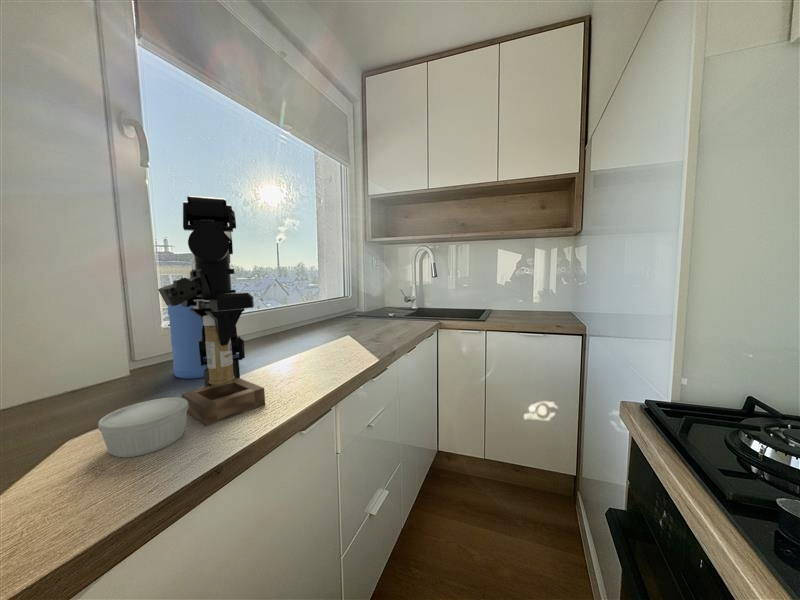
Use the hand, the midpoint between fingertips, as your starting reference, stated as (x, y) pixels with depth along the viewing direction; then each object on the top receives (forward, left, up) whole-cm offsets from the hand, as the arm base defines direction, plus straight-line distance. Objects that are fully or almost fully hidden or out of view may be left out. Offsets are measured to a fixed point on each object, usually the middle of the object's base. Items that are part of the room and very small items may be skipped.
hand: (219, 343), depth 61 cm
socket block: (0, 0, -13) cm, 13 cm away
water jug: (-9, -31, -13) cm, 35 cm away
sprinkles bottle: (0, 0, -8) cm, 8 cm away
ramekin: (+13, +4, -13) cm, 19 cm away
